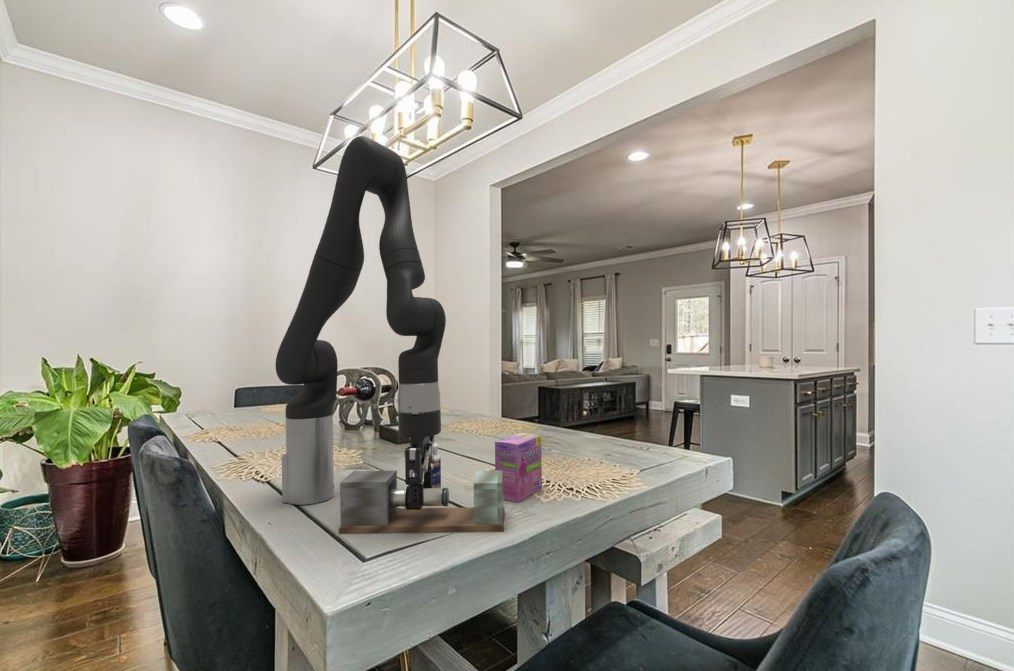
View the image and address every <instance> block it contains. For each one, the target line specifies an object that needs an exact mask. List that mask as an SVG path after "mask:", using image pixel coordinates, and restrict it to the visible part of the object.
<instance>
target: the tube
mask: <svg viewBox="0 0 1014 671" xmlns="http://www.w3.org/2000/svg"><path fill="white" fill-rule="evenodd" d="M423 492H424V504H423V506H422V507H418V508H412V507H411V506H410V485H406V488H397V489H388V496H389V507H397V508H399V507H400V508H401V507H404V508H406V510H421V509H422V508H423V507H449V504H450V503H449V501H450V489H449V487H441V488H423Z"/></svg>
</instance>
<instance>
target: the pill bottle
mask: <svg viewBox="0 0 1014 671" xmlns="http://www.w3.org/2000/svg"><path fill="white" fill-rule="evenodd" d="M438 451H439V444H438V443H434V460H435V462H434V464H433V469H432V470H430V471H432V488H442V474H441V469H442V468H441V464H442V463H441V455H440V454H439V453H438ZM413 477H417V473H413Z"/></svg>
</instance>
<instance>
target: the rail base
mask: <svg viewBox="0 0 1014 671" xmlns="http://www.w3.org/2000/svg"><path fill="white" fill-rule="evenodd" d="M388 489H398V471H397V470H393V469H392V470H354V471H352V472H351V473H350V474H349V475H348V476H346V477H344V479H343V480H341V481H340V482H339V491H340V492H339V497H340V498H339V502H340V504H339V507H340V526H339V527H338V535H348V534H350V535H353V534H357V535H358V534H417V533H418V534H421V533H430V534H431V533H432V534H433V533H481V532H482V533H483V532H485V533H486V532H487V533H489V532H491V533H493V532H496V533H497V532H498V533H499V532H504V531H505V513H506V511H505V508H506V507H505V506H504V500H503V470H495V469H494V470H476V474H475V477H474V481H473V507H472V506H471V507H470V506H469V507H422V509H421V510H406V507H404V508H398V507H389V496H388Z"/></svg>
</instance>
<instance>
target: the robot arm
mask: <svg viewBox="0 0 1014 671" xmlns="http://www.w3.org/2000/svg"><path fill="white" fill-rule="evenodd" d="M338 168H339V169H338V172H337V176H336V182H335V185H334V189H333V195H332V199H331V204H330V207H329V211H328V214H327V218H326V221H325V224H324V228H323V230H322V233H321V237H320V239H319V243H318V245H317V248H316V250H315V253H314V254H313V255H314V256H313V259H312V262H311V265H310V267H309V272H308V275H307V278H306V281H305V285H304V287H303V289H302V293H301V296H300V298H299V301H298V304H297V307H296V309H295V312H294V314H293V315H292V316H293V317H292V319H291V321H290V323H289V326H288V327H287V329H286V332H285V334H284V336H283V338H282V340H281V342H280V344H279V347H278V351H277V353H276V358H275V372H276V376H277V378H278V379H279V381H280V382H282V383H283V384H286V385H290V386H291V385H292V386H299V385H303V389H302V391H301V392H300V393H299V395H297V397H295V398H294V399H292V400H290V401H289V402H288V403H287V404H286V405H285V412H284V413H285V454H283V455H282V456H281V493H282V494H281V503H287V504H291V505H300V506H301V505H311V504H317V503H321V502H325V501H328V500H330V499H331V498H333V496H334V495H335V481H334V480H335V476H334V475H335V474H334V472H335V471H334V468H335V466H334V415H333V414H334V406H335V403H336V400H337V391H338V386H337V385H338V371H339V370H338V369H339V368H338V356H337V353H336V350H335V348H334V346H333V345H332V344H331V343H330V342H329V341H327V340H325V339H324V340H322V339H318V338H319V336H320V333H321V332H322V329H323V328H324V326H325V324H326V323H327V322H328V321H329V319H330V318H331V317H332V316H333V315H334V314H335V313H336V311H338V310H339V309H340V308H341V307H342V306H343V305H344V304H345V302H347V300H348V299H349V298H350V297H351V295H352V294H353V292H354V290H355V289H356V286H357V283H358V281H359V277H360V276H361V273H362V269H363V265H364V262H365V250H364V242H363V237H362V232H361V225H360V213H361V208H362V205H363V201H364V198H365V194H366V192H368V193H371V194H373V195H376V196H377V197H378V199H379V201H380V203H381V206H382V208H383V212H384V222H383V226H382V230H381V233H380V236H379V243H378V244H379V245H378V246H379V247H378V248H379V249H378V250H379V257H380V261H381V264H382V268H383V271H384V275H385V279H386V310H385V312H386V315H385V316H386V320H387V323H388V325H389V326H390V328H391V330H392V331H393V332H394V333H395V334H396V335H398V336H402V337H415V338H416V339H415V341H414V344H413V347H411V348H409V349H407V350H403V351H402V352H401V353H400V354H399V356H398V364H397V365H398V369H397V370H398V391H397V422H398V423H397V427H398V435H399V436H400V437H402V438H409V439H410V441H409V446H407V447H405V449H404V466H405V467H404V468H405V470H404V472H405V474H404V475H405V476H404V478H405V479H404V483H405V485H406V486H408V485H410V506H411V507H412V508H418V507H422V508H423V507H424V506H423V504H424V492H423V488H432V471H430V470H432V469H433V464H434V462H435V460H434V437H435V436H437V435H439V434H440V433H441V432H442V418H441V414H442V413H441V411H442V410H441V391H440V385H439V356H440V353H441V352H440V351H441V347H442V345H443V344H442V343H443V338H444V335H445V330H446V324H447V323H446V322H447V318H446V313H445V310H444V307H443V305H442V303H441V302H439V301H438V300H437V299H434V298H431V297H421V296H418V297H417V296H414V295H413V290H415V289H418V288H420V287H421V286H422V285H423V284H424V282H425V280H426V274H425V269H424V266H423V262H422V259H421V256H420V251H419V248H418V244H417V242H416V237H415V232H414V228H413V221H412V212H411V202H410V194H409V187H408V186H409V185H408V178H407V176H408V175H407V169H406V167H405V163H404V161H403V158H402V157H401V156H400V155H399V154H398V153H397V152H395V151H394V150H392V149H390V148H389V147H386V146H385V145H383V144H381V143H379V142H377V141H375V140H373V139H372V138H369V137H367V136H364V135H360V136H356V137H354V138H352V140H351V141H350V142H349V143H348V144H347V146H346V148H345V149H344V152H343V155H342V158H341V160H340V165H339V167H338ZM414 473H417V477H414Z"/></svg>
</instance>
